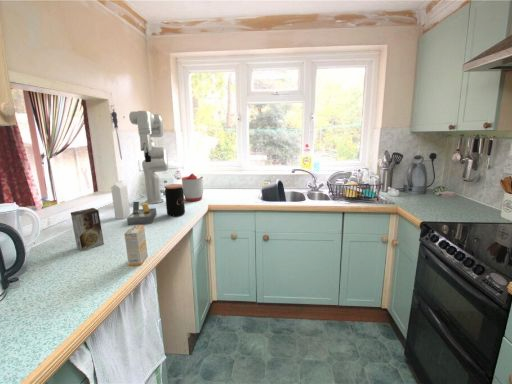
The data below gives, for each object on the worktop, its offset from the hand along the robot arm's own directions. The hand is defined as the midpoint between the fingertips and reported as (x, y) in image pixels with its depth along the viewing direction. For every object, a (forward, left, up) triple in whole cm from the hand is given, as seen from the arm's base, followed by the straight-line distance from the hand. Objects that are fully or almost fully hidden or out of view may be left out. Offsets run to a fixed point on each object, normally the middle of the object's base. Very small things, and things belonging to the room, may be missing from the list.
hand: (148, 161), depth 167 cm
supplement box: (+75, +7, -32) cm, 82 cm away
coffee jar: (+13, +16, -32) cm, 38 cm away
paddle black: (+19, -6, -28) cm, 34 cm away
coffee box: (+54, -17, -32) cm, 65 cm away
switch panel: (+19, -2, -32) cm, 37 cm away
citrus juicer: (-25, +26, -32) cm, 48 cm away
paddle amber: (+19, 0, -28) cm, 33 cm away
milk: (+11, -15, -32) cm, 37 cm away
